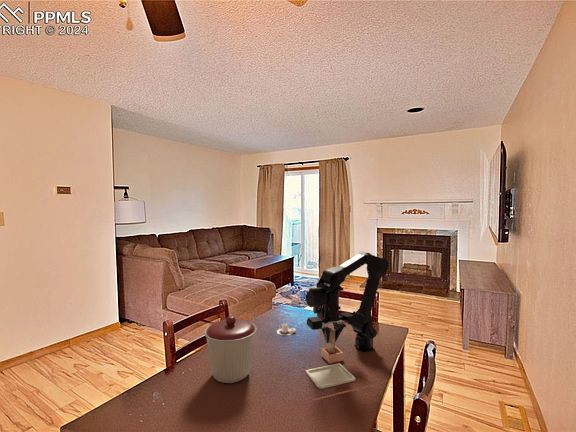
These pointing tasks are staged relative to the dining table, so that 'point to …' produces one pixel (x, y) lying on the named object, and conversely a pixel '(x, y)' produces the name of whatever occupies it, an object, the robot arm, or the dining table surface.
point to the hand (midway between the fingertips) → (331, 342)
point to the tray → (330, 375)
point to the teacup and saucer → (286, 329)
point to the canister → (230, 348)
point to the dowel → (331, 342)
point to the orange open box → (332, 355)
